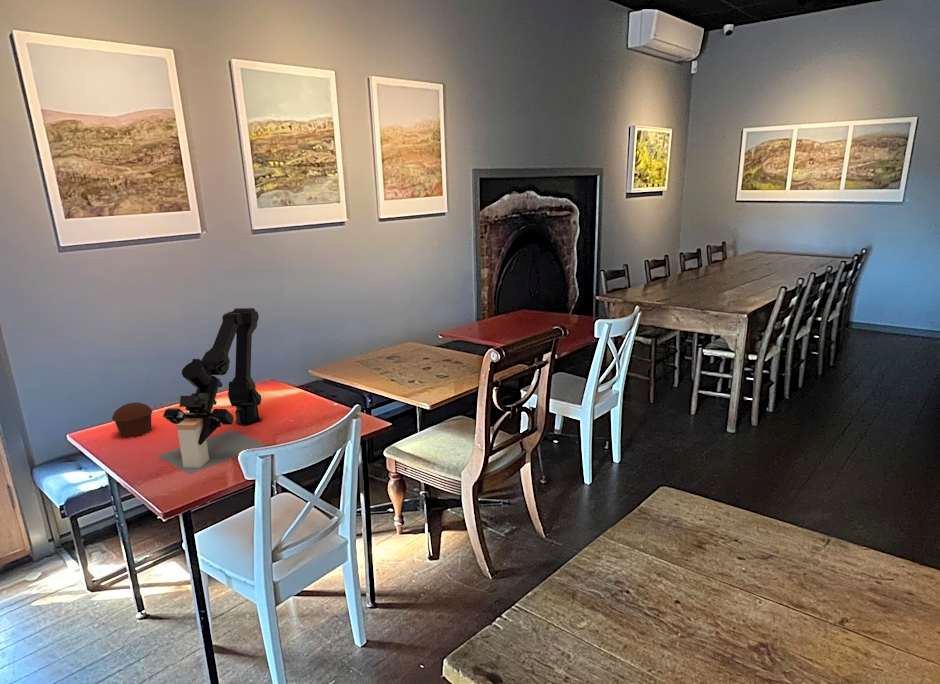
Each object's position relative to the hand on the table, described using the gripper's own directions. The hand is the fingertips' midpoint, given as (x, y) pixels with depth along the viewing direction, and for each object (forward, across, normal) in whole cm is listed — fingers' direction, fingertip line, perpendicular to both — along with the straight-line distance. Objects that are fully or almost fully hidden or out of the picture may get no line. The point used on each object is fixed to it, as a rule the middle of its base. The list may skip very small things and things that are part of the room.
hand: (190, 444), depth 165 cm
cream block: (+4, 0, +6) cm, 7 cm away
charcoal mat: (-2, 0, +12) cm, 13 cm away
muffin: (-12, -34, +22) cm, 42 cm away
